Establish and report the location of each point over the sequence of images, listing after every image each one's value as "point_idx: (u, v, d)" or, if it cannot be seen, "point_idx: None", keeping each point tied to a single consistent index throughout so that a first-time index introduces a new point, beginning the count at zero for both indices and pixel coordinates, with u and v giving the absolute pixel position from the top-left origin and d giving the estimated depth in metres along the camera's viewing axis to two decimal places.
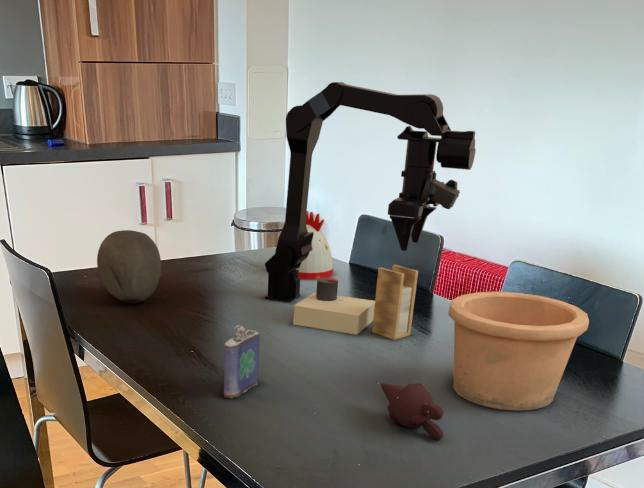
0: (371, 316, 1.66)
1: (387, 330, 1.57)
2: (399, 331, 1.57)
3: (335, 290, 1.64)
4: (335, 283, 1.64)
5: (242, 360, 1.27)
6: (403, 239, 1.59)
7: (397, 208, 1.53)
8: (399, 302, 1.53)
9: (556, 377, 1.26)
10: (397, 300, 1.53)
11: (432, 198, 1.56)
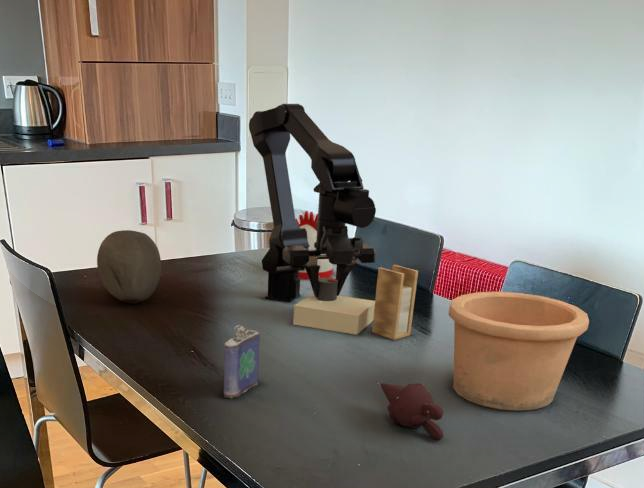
0: (371, 316, 1.66)
1: (387, 330, 1.57)
2: (399, 331, 1.57)
3: (335, 290, 1.64)
4: (335, 283, 1.64)
5: (242, 360, 1.27)
6: (312, 285, 1.65)
7: (284, 254, 1.60)
8: (399, 302, 1.53)
9: (556, 377, 1.26)
10: (397, 300, 1.53)
11: (325, 251, 1.57)
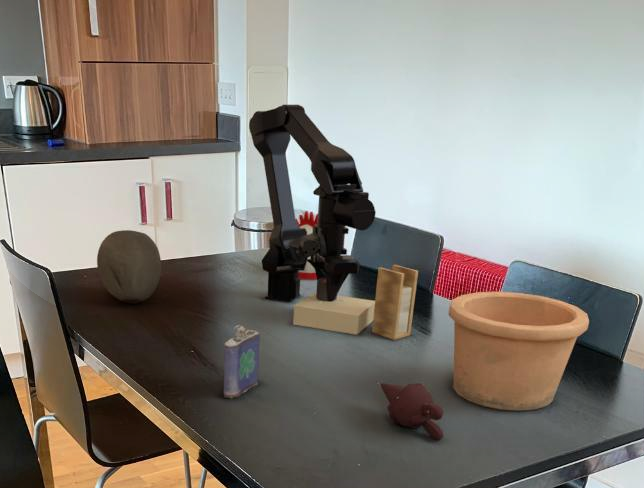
0: (371, 316, 1.66)
1: (387, 330, 1.57)
2: (399, 331, 1.57)
3: (321, 290, 1.64)
4: (320, 283, 1.63)
5: (242, 360, 1.27)
6: None
7: None
8: (399, 302, 1.53)
9: (556, 377, 1.26)
10: (397, 300, 1.53)
11: None
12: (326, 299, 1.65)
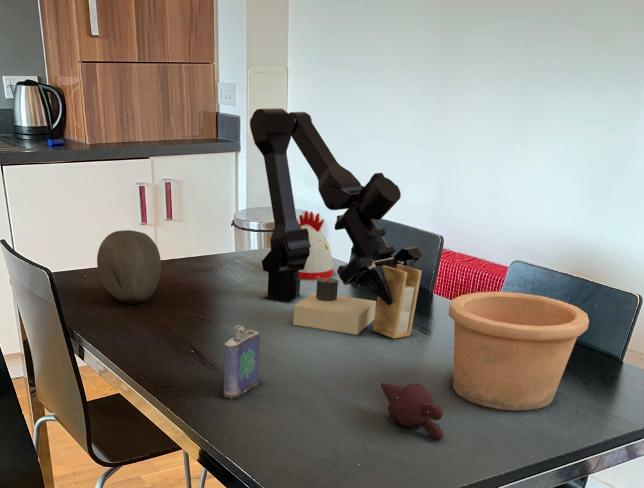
0: (371, 316, 1.66)
1: (387, 328, 1.57)
2: (399, 330, 1.57)
3: (321, 290, 1.64)
4: (320, 283, 1.64)
5: (242, 360, 1.27)
6: None
7: None
8: (401, 301, 1.53)
9: (556, 377, 1.26)
10: (399, 299, 1.53)
11: None
12: (326, 299, 1.65)
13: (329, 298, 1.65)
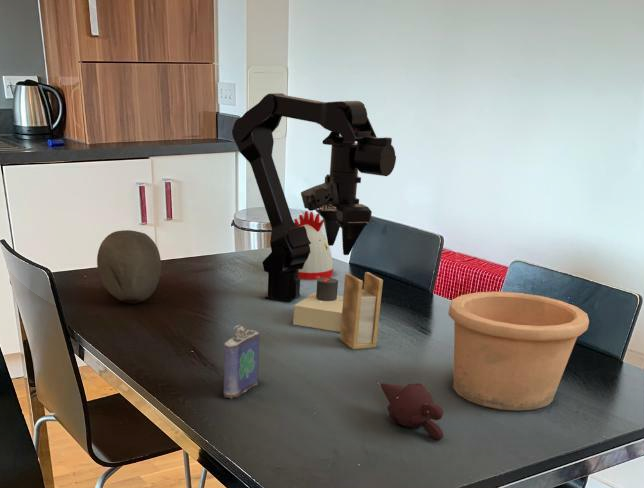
0: None
1: (349, 338, 1.52)
2: (361, 341, 1.51)
3: (321, 290, 1.64)
4: (320, 283, 1.64)
5: (242, 360, 1.27)
6: None
7: None
8: (357, 310, 1.47)
9: (556, 377, 1.26)
10: (355, 308, 1.47)
11: None
12: (326, 299, 1.65)
13: (329, 298, 1.65)
